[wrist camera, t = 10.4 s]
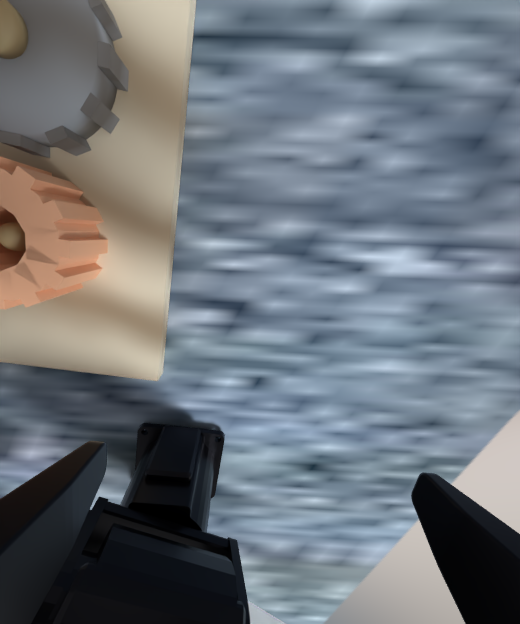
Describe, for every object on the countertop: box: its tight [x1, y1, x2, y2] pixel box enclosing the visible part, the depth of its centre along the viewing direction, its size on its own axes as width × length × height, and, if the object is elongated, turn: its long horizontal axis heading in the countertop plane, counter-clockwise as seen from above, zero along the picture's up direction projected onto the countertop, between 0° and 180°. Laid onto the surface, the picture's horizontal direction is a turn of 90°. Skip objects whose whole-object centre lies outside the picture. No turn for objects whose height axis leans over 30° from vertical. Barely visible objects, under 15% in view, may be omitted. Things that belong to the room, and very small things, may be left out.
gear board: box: [0, 0, 196, 381], centre depth 14 cm, size 22×14×5 cm, turn 170°
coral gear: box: [0, 156, 108, 310], centre depth 14 cm, size 7×7×4 cm
